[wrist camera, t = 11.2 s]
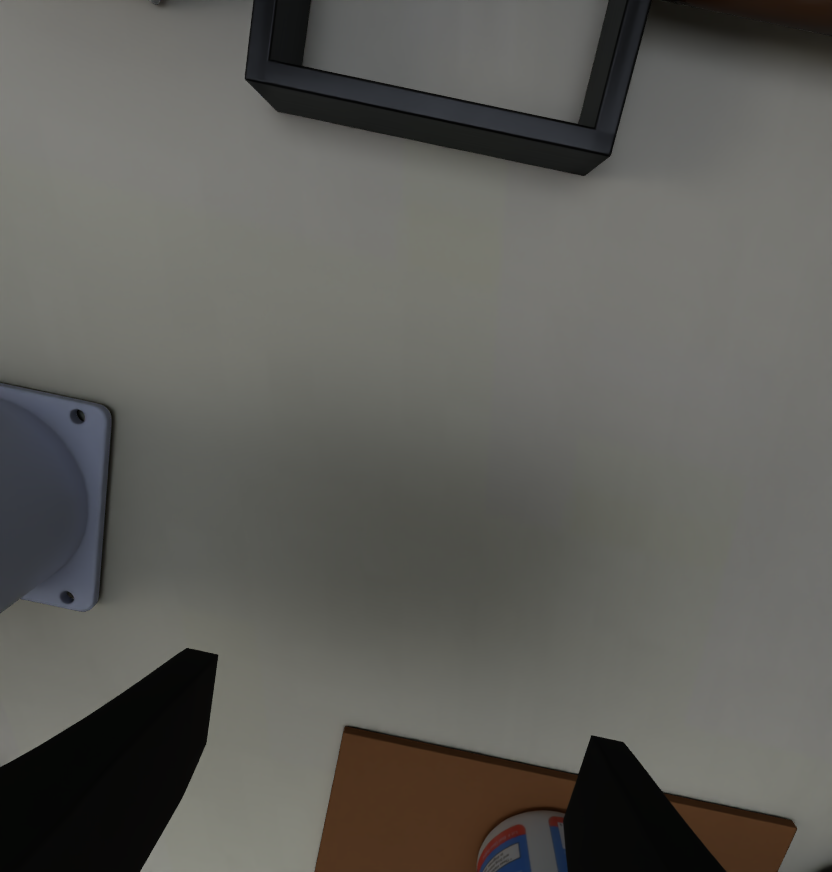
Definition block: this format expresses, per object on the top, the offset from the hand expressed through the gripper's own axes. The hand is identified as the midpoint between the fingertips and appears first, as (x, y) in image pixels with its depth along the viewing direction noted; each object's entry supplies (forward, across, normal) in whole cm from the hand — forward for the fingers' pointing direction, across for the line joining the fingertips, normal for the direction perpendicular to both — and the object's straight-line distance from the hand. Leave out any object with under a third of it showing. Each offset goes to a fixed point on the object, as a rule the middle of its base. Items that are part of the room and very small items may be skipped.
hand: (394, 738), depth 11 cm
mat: (+10, -8, +13) cm, 18 cm away
